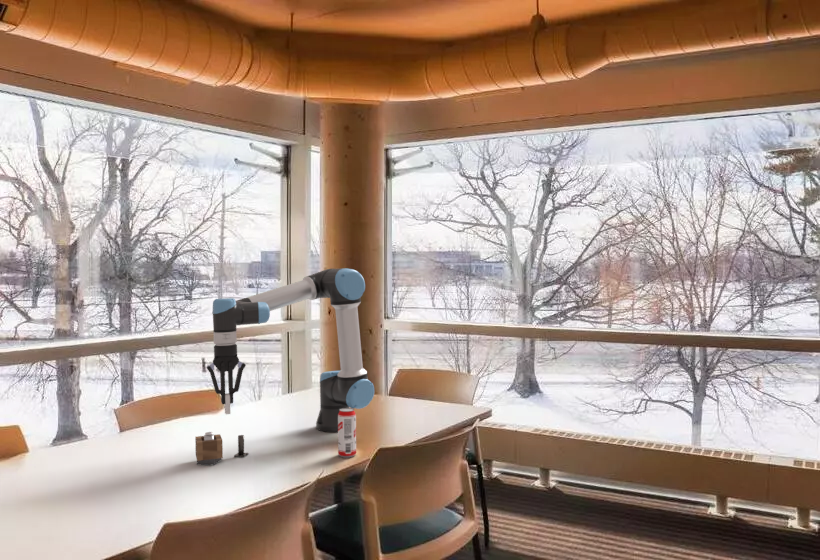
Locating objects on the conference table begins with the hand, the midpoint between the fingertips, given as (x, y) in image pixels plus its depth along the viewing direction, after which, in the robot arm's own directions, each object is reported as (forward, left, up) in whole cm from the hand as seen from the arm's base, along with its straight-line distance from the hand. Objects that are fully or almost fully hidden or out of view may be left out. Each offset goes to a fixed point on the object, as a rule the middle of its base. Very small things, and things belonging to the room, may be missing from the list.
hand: (227, 413), depth 221 cm
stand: (-5, +3, -16) cm, 17 cm away
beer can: (-9, +39, -16) cm, 43 cm away
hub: (+3, -5, -16) cm, 17 cm away
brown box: (+3, -5, -14) cm, 15 cm away
